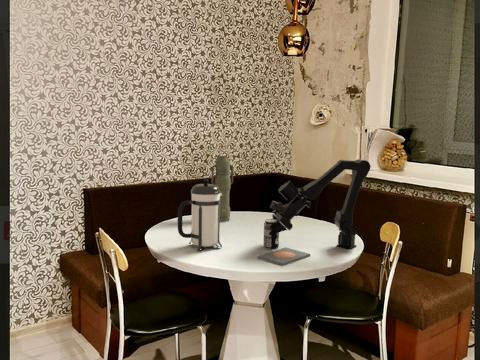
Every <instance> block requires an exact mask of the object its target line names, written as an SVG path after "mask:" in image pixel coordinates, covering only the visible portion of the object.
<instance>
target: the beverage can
mask: <svg viewBox="0 0 480 360" xmlns="http://www.w3.org/2000/svg"><path fill="white" fill-rule="evenodd" d="M263 224H264V225H263V247H264V248H265V249H268V250H277V249H278V248H279V245H280V244H279V243H280V242H279V241H280V238H279V237H280V232H279V233H276V234H273V235H269V233H270V231H271V230H272V229H273V227H274V226H275V225H276V219H273V218H268V219H265V221H264V223H263Z"/></svg>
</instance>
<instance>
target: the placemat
mask: <svg viewBox="0 0 480 360" xmlns="http://www.w3.org/2000/svg"><path fill="white" fill-rule="evenodd" d="M309 257H311V253H309V252H305V251H300V250H297V249H293V248H290V247H282V248H279V249H278V248H277V249H274V250H272V251H270V252H266V253H262V254H259V255H257V259H258V260H262V261H265V262H269V263H273V264H276V265H279V266H282V267H283V266H284V267H285V266H286V265H289V264H292V263H294V262H295V263H296V262H298V261H300V260H304V259H306V258H309Z"/></svg>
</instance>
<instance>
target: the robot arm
mask: <svg viewBox="0 0 480 360" xmlns="http://www.w3.org/2000/svg"><path fill="white" fill-rule="evenodd" d="M371 166H372V165H371V164H370V162H369V161H367V160H365V159H360V158H358V159H355V160H344V159H339V160H338V161H336V163H335V164H334V165H333V166H331V167H330V168H329V169H328V170H327V171H326V172H324V173H323V174H322V175H321V176H320V177H319V178H317V179H316V180H313V181H310V182H309V183H307V184H306V185H304V186H303V187H299V188H298V187H296V186H295V185H294V183H293V182H292V181H291V180H288V181H286V182H285V183H284V184H282V185H281V186H280V187H279V188H278V193H279V194H280V195H282V197H283V198H284V199H285V200H286V201H290V202H288V203H284V205H283V203H282V202H280V201H278V202H277V201H275V200H272V201H271V204H270V205H269V208H270V209H271V210H273V211H271V213H272V215H271V216H272V219H276V225H275V226H274V227H273V229H272V230H271V231H270V233H269V235H273V234H276V233H279V234H280V233H281V232H284V231H289V232H290V231H291V230H292V229H293V224H292V221H291V220H292V219H293V218H295V217H297V216H299V213H300V212H301V210H303V209H304V208H305V206H306V207H307V208H309V209H311V205H312V204H311V201H312V200H316V199H317V197H319V195H320V194H321V193H322V191H323V189H324V188H325V187H326V186H327V185H328V184H329V183H330V182H332V181H333V180H335V178H337V176H339V175H340V174H342V172H344V171H345V170H347V171H348V170H349V171H351V180H350V184H349V186H348V187H349V188H348V190H347V193H346V197H345V199H344V202H343V206H342V208H341V210H340V211H338V210H337V211H336V213H335V217H334V218H333V220H334V225H335V226H336V227H337V229H338V231H339V234H338V237H337V244H336V247H339V248H343V249H346V250H347V249H348V250H351V249H354V248H356V247H357V245H356V244H355V242H356V234H357V232H358V230H357V229H356V228H355V227H354V226H353V221H354V220H353V219H354V216H353V213H354V212H353V211H354V208H355V205H356V202H357V199H358V195H359V192H360V190H361V187H362V184H363V181H365V179H366V178H367V176H368V174H369V173H370V171H371Z"/></svg>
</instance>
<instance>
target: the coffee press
mask: <svg viewBox="0 0 480 360" xmlns="http://www.w3.org/2000/svg"><path fill="white" fill-rule="evenodd" d="M202 182H203V183H198V184H194V186H192V188H191V190H190V195H191V199H190V200H184V201H182V202H181V203H180V204H179V206H178V208H177V231H178V234H179V235H180V237H182V238H185V239H190V241H189V243H188V245H189V244H192V245H191V246H193V245H194V246H196V247H197V251H198V250H200V249H202V250H203V248H205V247H213V246H215V247H217V248H218V247H221V248H222V247H223V245H222V244H221V242H220V225H221V222H220V196H222V193H221V190H220V189H219V187H218V186H216V185H214V184H212V183H209V179H208V178H204V179H203V180H202ZM188 205H191V232H190V233H184V231H183V210H184V208H185V207H186V206H188Z"/></svg>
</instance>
